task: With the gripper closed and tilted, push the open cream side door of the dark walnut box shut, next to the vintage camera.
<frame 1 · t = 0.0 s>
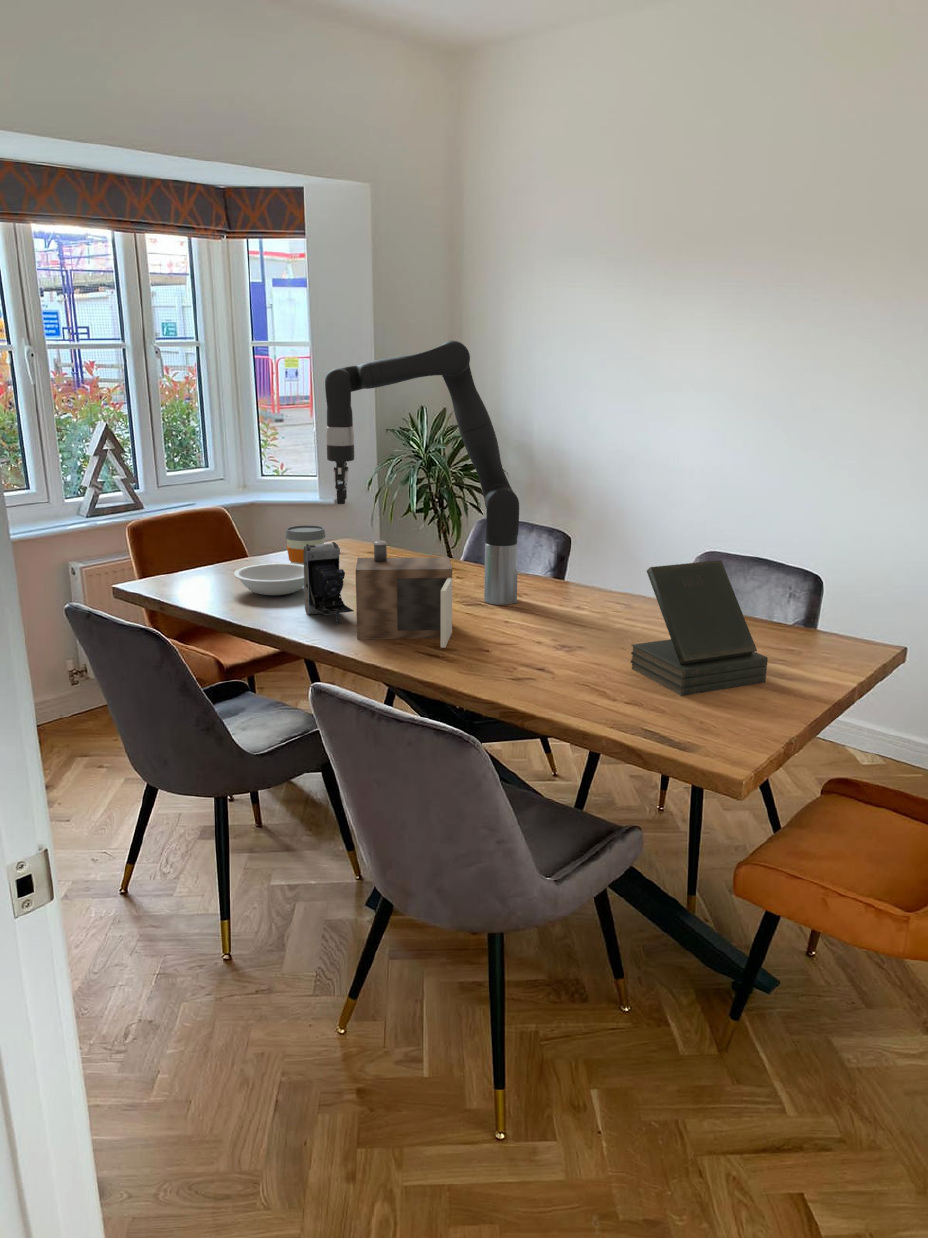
hand: (341, 501, 269), 29 cm above the table, fingers open, 8 cm apart
camera mount: (382, 603, 278), on the table
side door: (446, 611, 235), point 9 cm above the table, hinge at 80.0°
vintage camera: (330, 618, 262), on the table
walnut box: (404, 630, 251), on the table
soup bowl: (276, 593, 287), on the table
reusable coffee cup: (306, 575, 311), on the table
film canister: (380, 560, 248), point 18 cm above the table, touching walnut box
stack of books: (696, 677, 219), on the table
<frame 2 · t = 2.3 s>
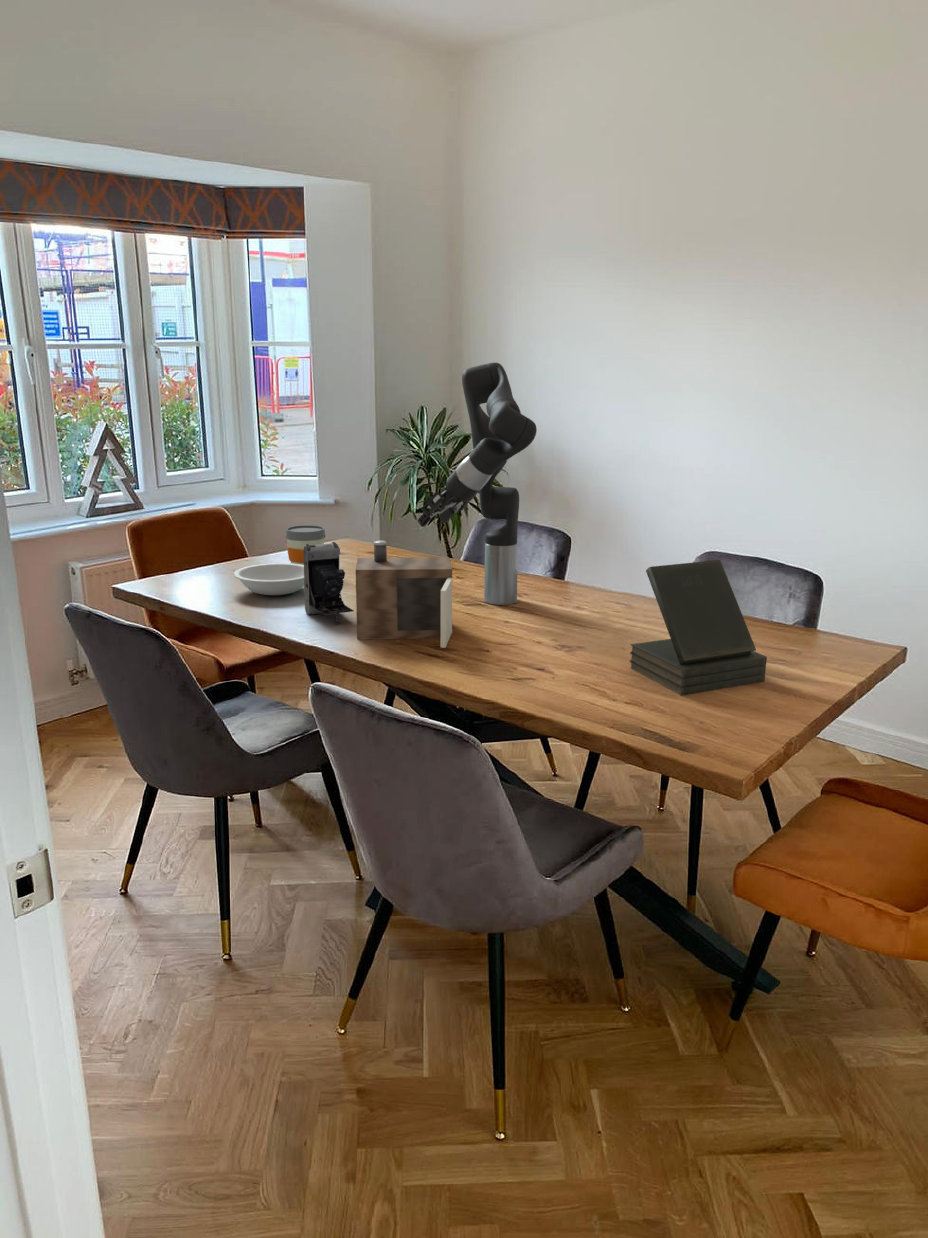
hand: (431, 521, 232), 31 cm above the table, fingers open, 8 cm apart
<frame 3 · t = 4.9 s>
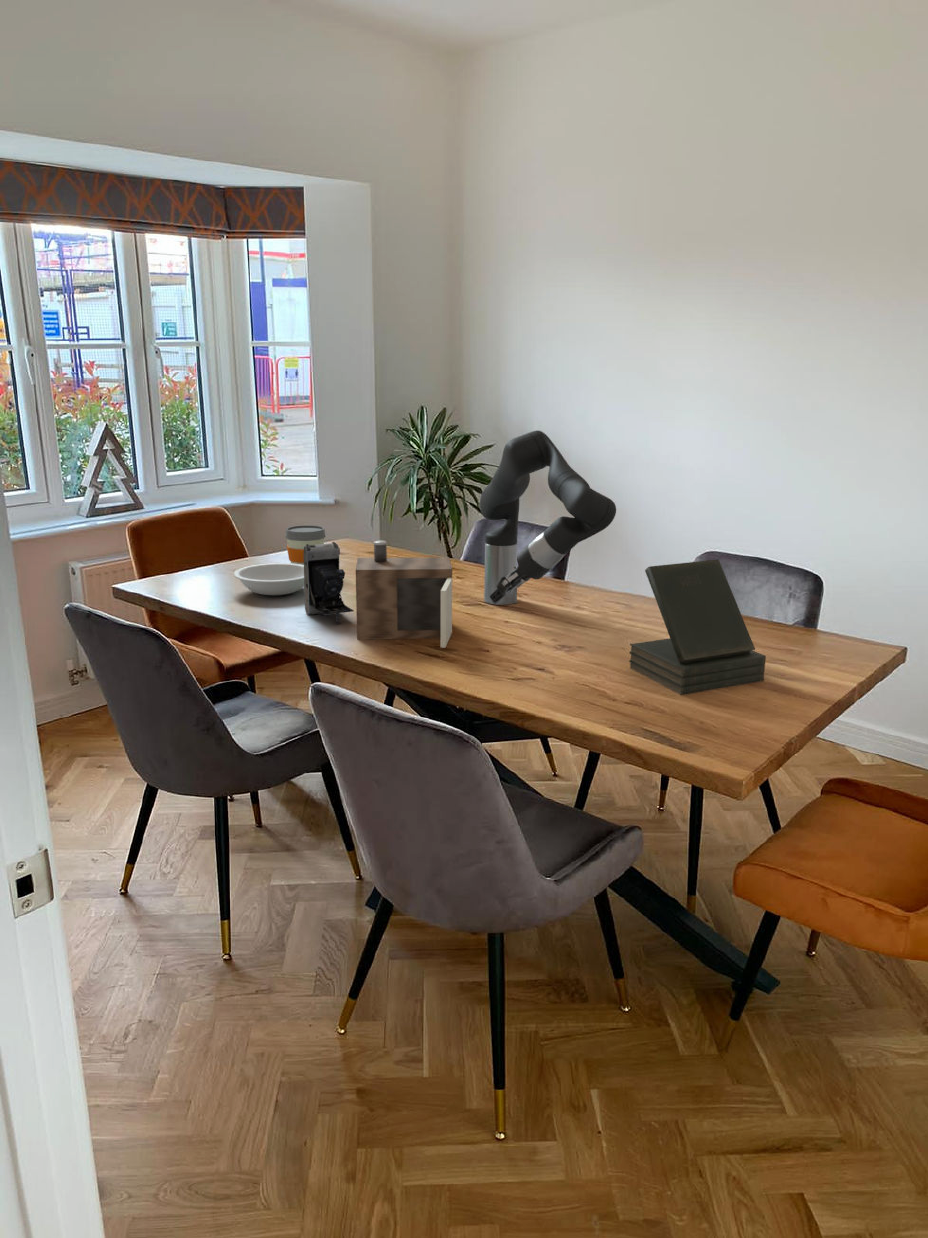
hand: (493, 599, 225), 14 cm above the table, fingers closed
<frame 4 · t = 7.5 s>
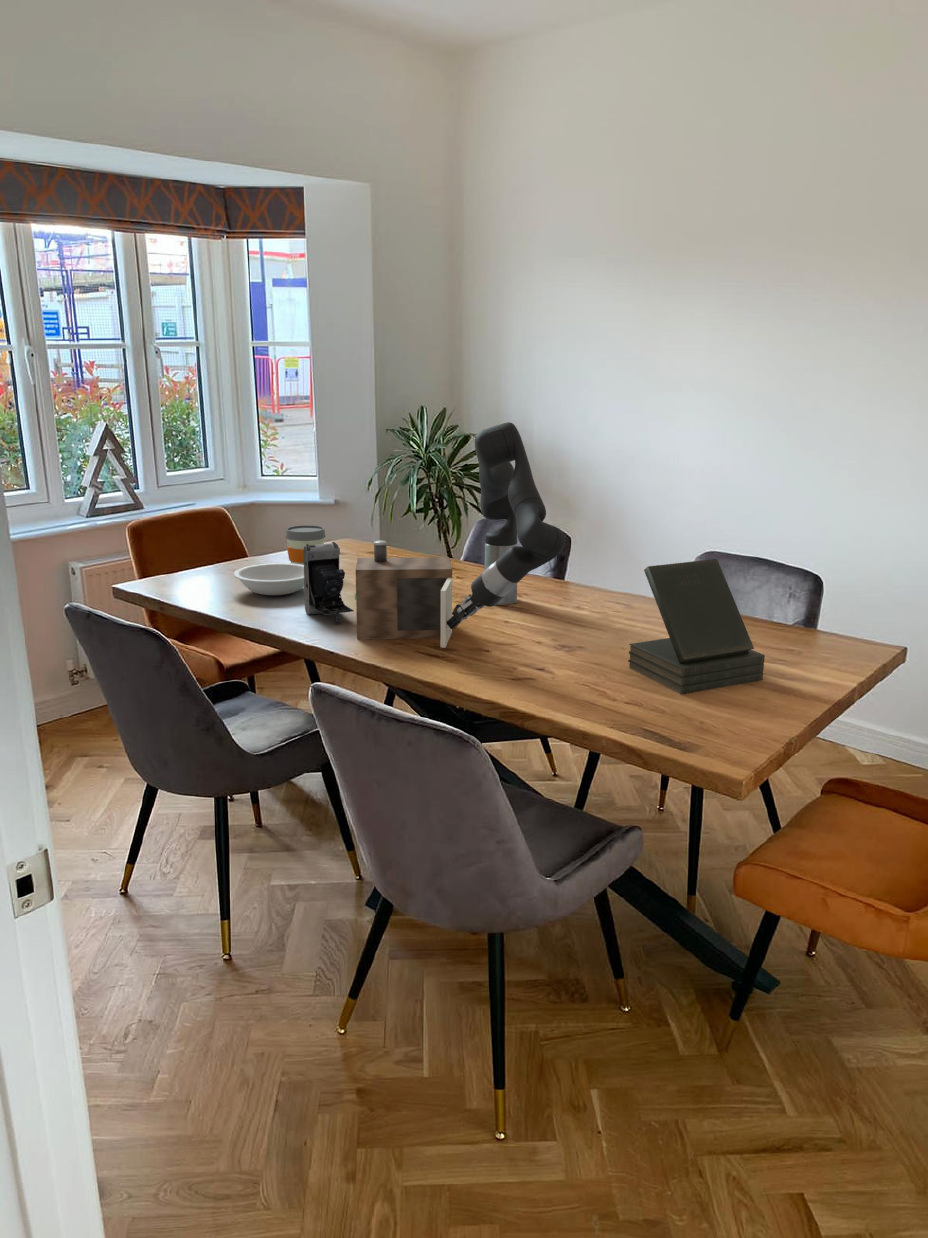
hand: (450, 625, 232), 7 cm above the table, fingers closed
side door: (446, 611, 235), point 9 cm above the table, hinge at 80.0°, touching gripper
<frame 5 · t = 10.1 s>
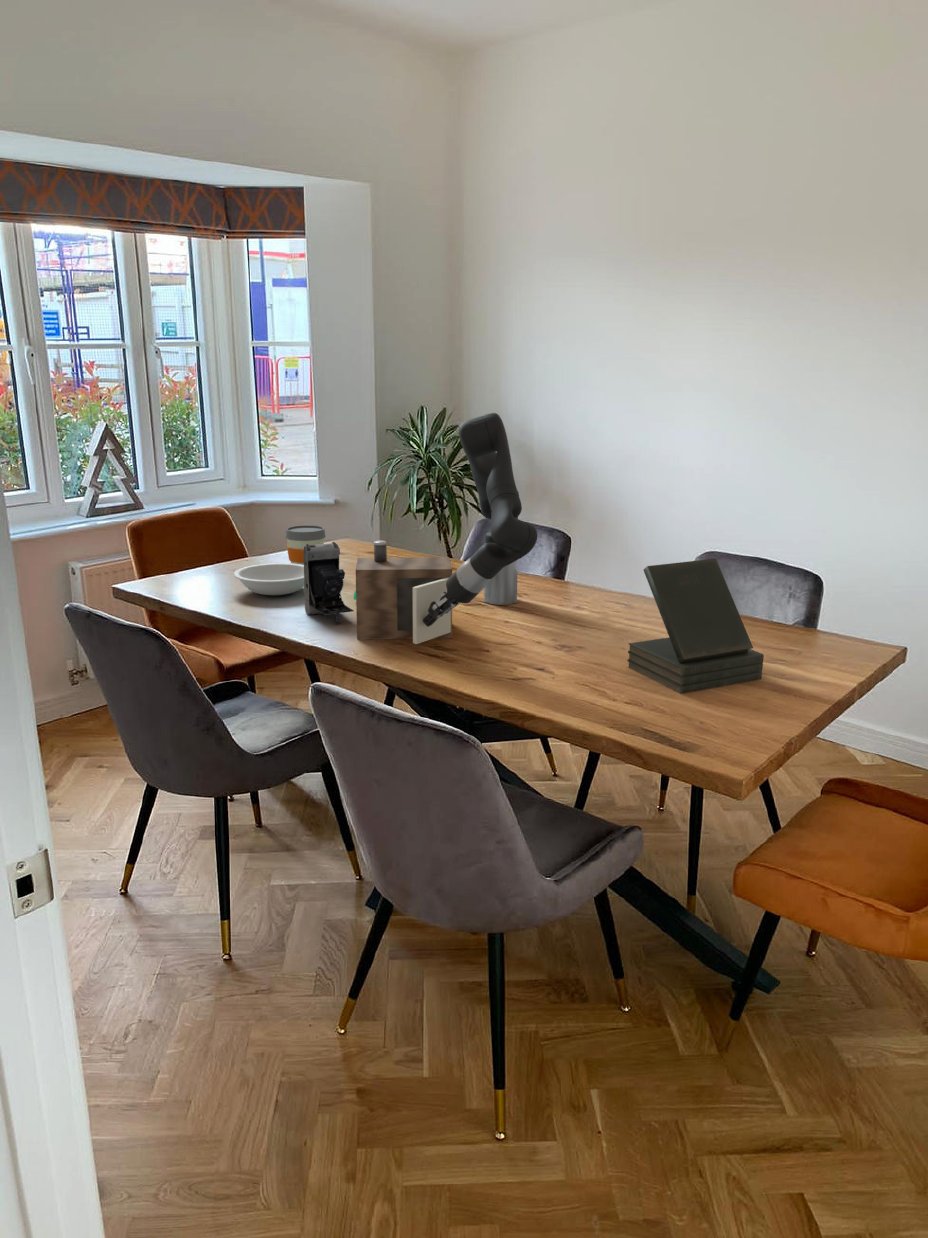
hand: (426, 623, 233), 7 cm above the table, fingers closed
side door: (433, 610, 237), point 9 cm above the table, hinge at 47.6°, touching gripper
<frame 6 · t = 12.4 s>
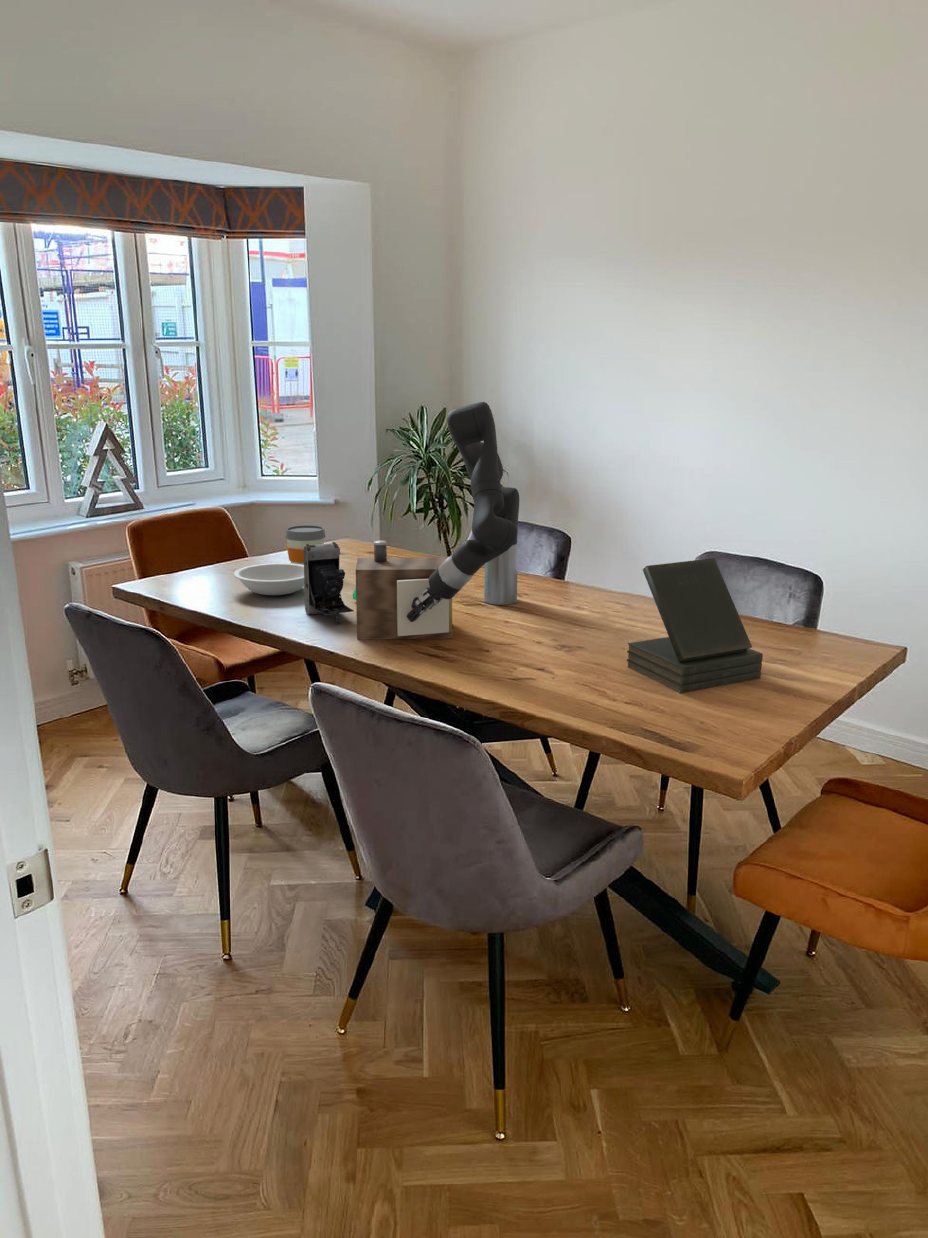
hand: (410, 618, 238), 7 cm above the table, fingers closed
side door: (425, 606, 240), point 9 cm above the table, hinge at 12.8°, touching gripper
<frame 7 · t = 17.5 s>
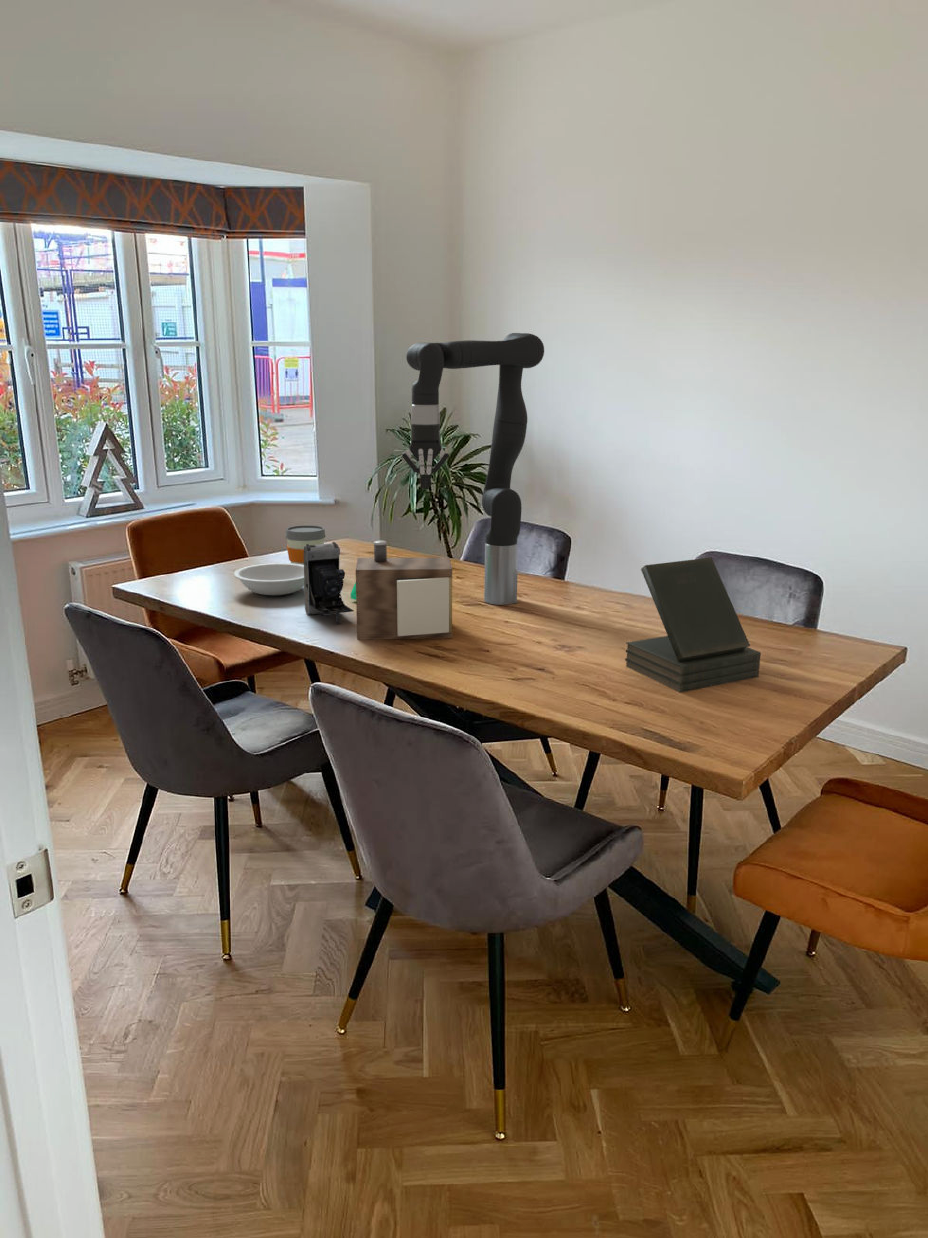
hand: (425, 488, 256), 35 cm above the table, fingers closed
side door: (425, 606, 240), point 9 cm above the table, hinge at 12.8°
at the end: side door at +13° (first picture: +80°) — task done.
